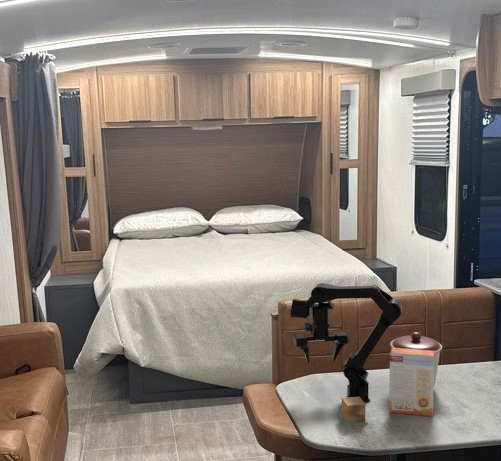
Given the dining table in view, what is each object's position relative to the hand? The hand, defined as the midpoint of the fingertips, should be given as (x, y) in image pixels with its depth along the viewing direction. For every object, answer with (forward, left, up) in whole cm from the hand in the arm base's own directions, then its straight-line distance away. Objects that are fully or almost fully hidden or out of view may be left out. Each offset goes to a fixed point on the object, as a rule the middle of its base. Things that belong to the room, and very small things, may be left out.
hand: (320, 362), depth 222 cm
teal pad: (-5, +22, -12) cm, 26 cm away
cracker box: (-26, +19, -12) cm, 34 cm away
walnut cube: (-5, +22, -11) cm, 25 cm away
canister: (-35, +1, -12) cm, 37 cm away
